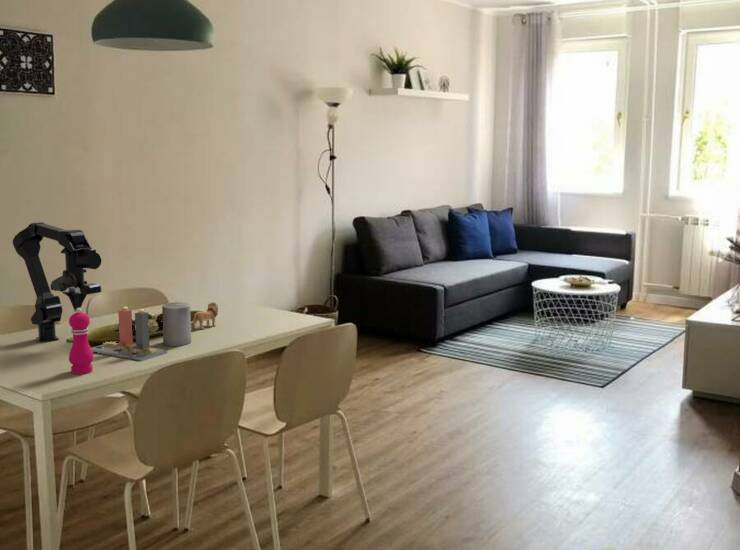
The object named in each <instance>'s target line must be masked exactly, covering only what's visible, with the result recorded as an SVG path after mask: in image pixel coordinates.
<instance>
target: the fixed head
mask: <svg viewBox="0 0 740 550" xmlns="http://www.w3.org/2000/svg"><path fill="white" fill-rule="evenodd" d="M134 321H135V322H134V323H135V324H134V325H135V329H134V330H135V344H134V346H133V349H134V353H136V349H146V348H149V347H150V331H149V329H150V327H149V323H150V322H149V312H147V311H145V309H138V311H137V312H134Z"/></svg>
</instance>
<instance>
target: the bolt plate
mask: <svg viewBox="0 0 740 550" xmlns="http://www.w3.org/2000/svg"><path fill="white" fill-rule="evenodd" d="M116 342H117V341H110V342H108V341H105V343H104V342H103V343H102V344H100V345H97V346H93V347H91V349H92V352H97V353H96V354H99V353H102V354H101V355H104V354H107V355H106V356H110V355H112V357H116V356H117V358H121V357H122V358H121V359H127V358H128V360H133V359H134V361H138V360H139V361H140V362H143V361H145V360H148V359H152V358H155V357H158V356H161V355H164V354H167V353H168V350H167V349H163V348H158V347H151V346H149V348H146V349H136V353H134V349H133V346H134V345H135V344H134V343H133V345H130V346H127V347H126V346H120V350H118V346H116Z"/></svg>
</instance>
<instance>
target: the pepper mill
mask: <svg viewBox="0 0 740 550" xmlns="http://www.w3.org/2000/svg"><path fill="white" fill-rule="evenodd" d="M82 311H83V309H82V308H77V309H76V312H74V313H73V314H72V315H70V317H69V318H68V324H69V326H70V327H71V330H70V331H71V335H72V344H71V345H72V346H71V348H70V351H69V355H68V362H69V363H70V365H71V366H70V372H72V374H73V373H74V374H73V375H84V374H83V373H86V374H89V373H88V372H90V373H92V372H93V371H92V370H93V364H92V362H93V361H94V359H95V356H94V353H93V352H92V349H91V348H92V347H91V346H90V343H89V339H88V333H89V328H88V326H90V323H91V320H90V317H89V315H88V314H87V313H84V312H82ZM91 371H92V372H91Z"/></svg>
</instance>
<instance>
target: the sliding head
mask: <svg viewBox="0 0 740 550" xmlns="http://www.w3.org/2000/svg"><path fill="white" fill-rule="evenodd" d="M117 312H118V313H117V314H118V327H119V331H118V332H119V333H118V334H119V341H118V342H119V343H116V346H118V350H120V346H126V347H127V346H130V345H133V344H134V341H133V340H134V339H133V338H134V337H133V330H132V325H133V313H132V312H133V311H132V310H131V309H129V308H128V306H122V307H121V309H119V310H117Z"/></svg>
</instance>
